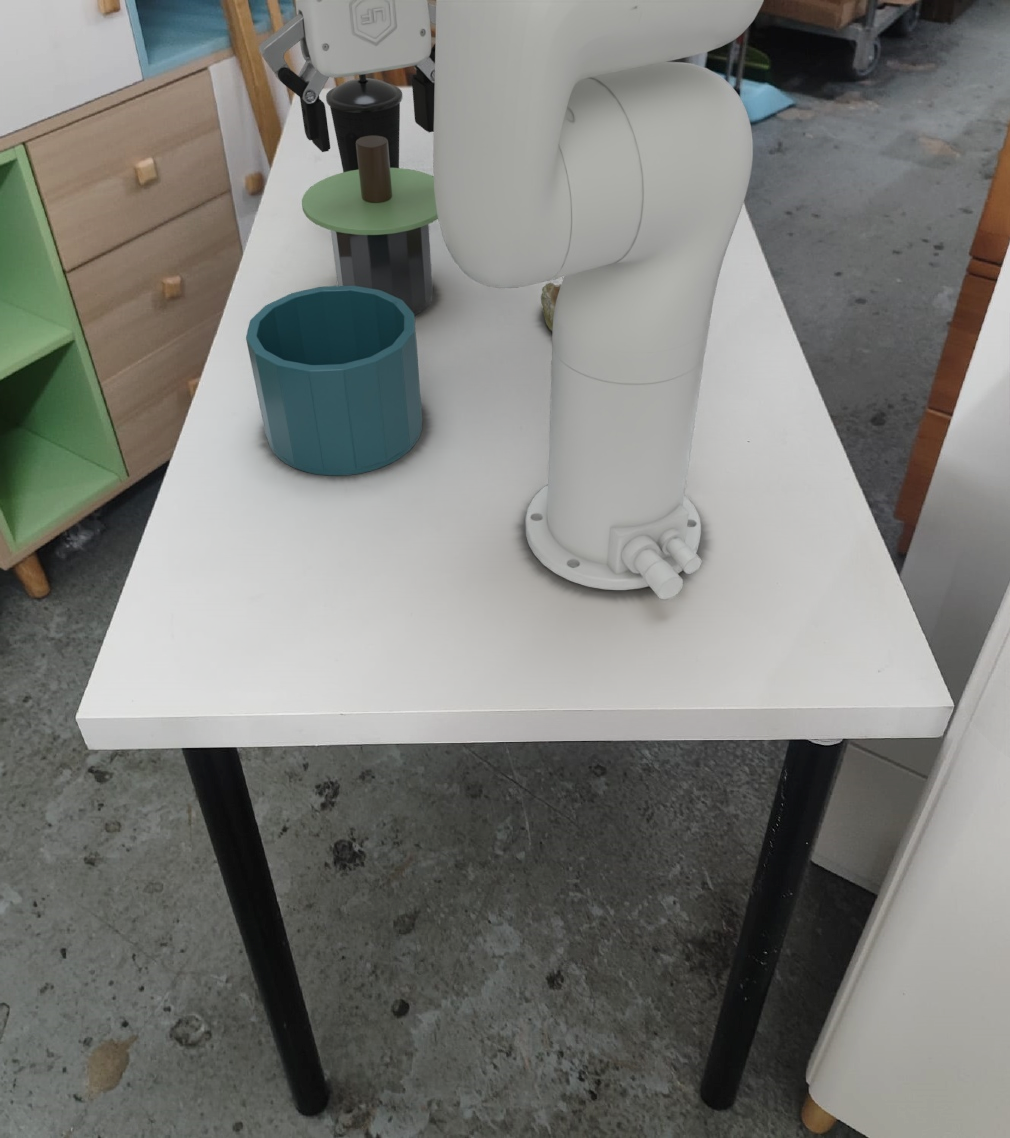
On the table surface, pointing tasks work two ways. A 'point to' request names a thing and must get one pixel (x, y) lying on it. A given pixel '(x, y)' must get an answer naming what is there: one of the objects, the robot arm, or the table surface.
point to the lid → (372, 195)
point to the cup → (387, 264)
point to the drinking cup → (365, 117)
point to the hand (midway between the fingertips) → (374, 136)
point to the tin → (337, 378)
